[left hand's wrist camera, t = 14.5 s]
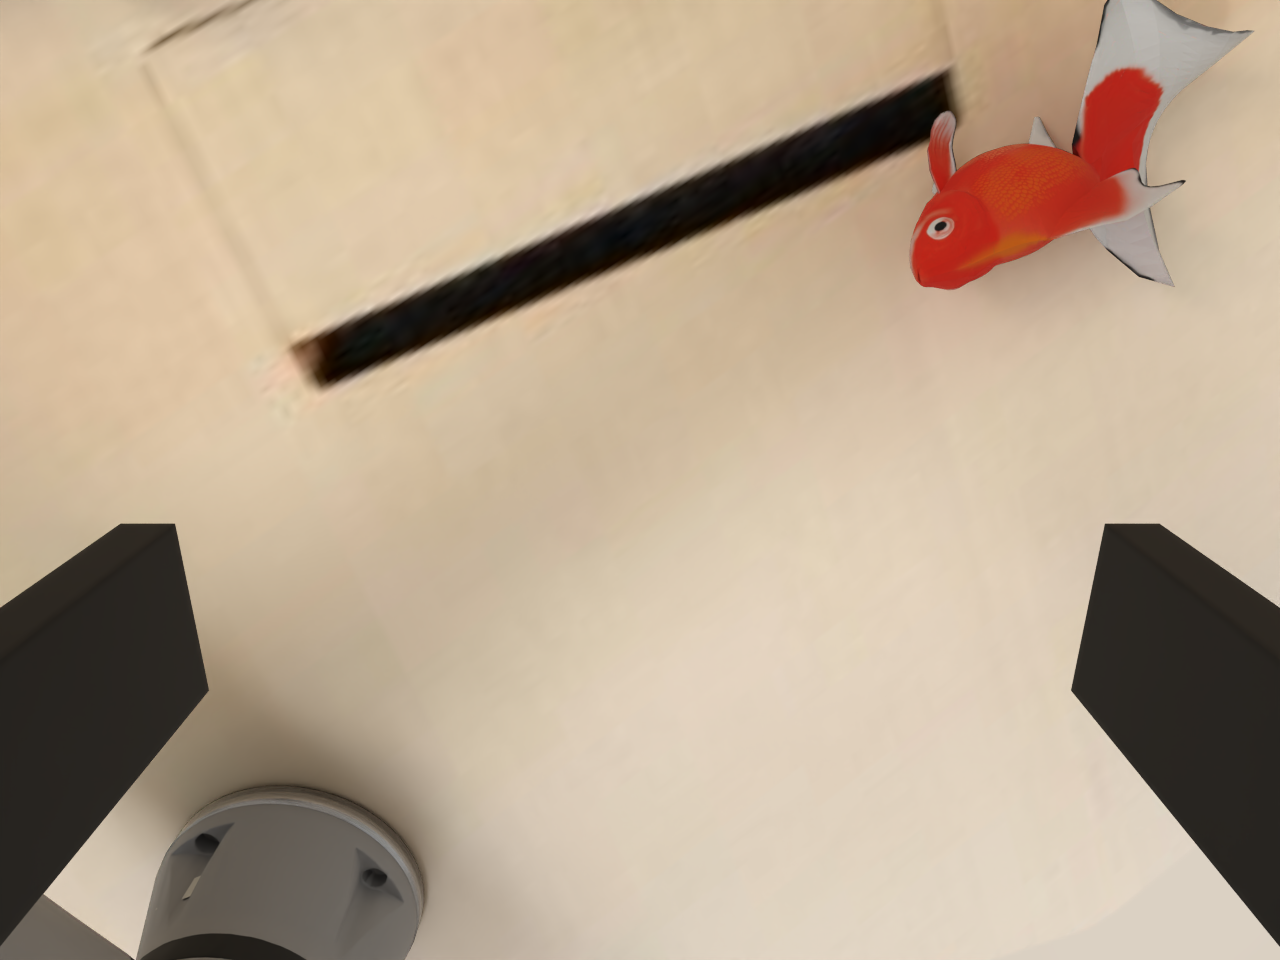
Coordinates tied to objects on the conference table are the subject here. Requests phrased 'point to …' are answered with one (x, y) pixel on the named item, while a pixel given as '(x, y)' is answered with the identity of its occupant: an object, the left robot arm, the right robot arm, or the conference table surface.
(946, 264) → the fish
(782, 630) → the conference table surface
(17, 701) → the left robot arm
